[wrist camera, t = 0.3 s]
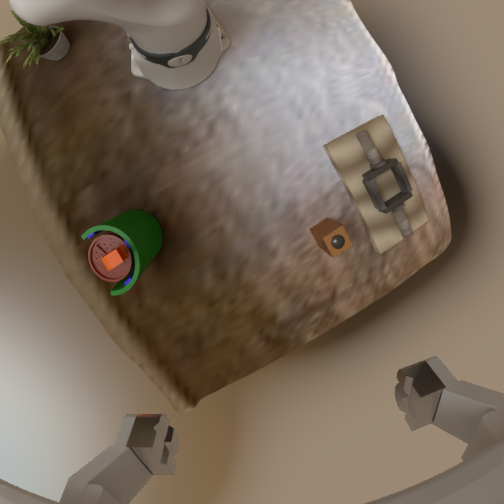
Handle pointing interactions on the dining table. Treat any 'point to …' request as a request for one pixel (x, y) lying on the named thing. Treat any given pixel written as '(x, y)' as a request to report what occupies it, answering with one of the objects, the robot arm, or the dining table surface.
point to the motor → (124, 248)
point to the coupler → (331, 237)
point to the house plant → (40, 42)
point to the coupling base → (378, 182)
